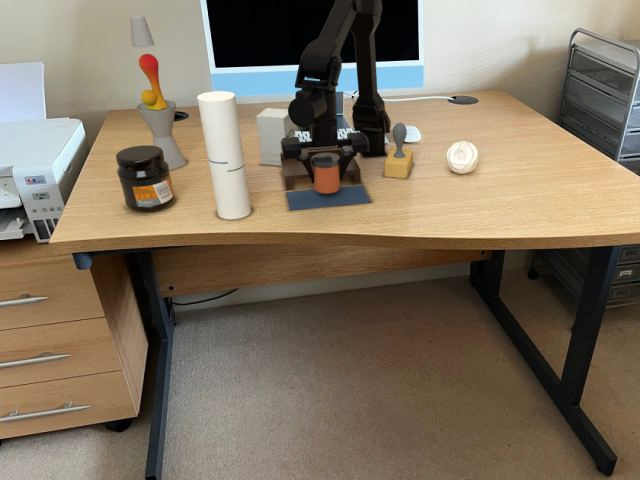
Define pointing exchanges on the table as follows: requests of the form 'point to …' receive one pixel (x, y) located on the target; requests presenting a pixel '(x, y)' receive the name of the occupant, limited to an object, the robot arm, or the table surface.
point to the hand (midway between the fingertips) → (327, 181)
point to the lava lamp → (155, 98)
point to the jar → (326, 172)
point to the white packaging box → (273, 133)
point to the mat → (327, 198)
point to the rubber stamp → (398, 155)
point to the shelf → (298, 171)
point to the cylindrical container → (225, 153)
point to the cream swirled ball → (462, 157)
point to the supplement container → (145, 178)
